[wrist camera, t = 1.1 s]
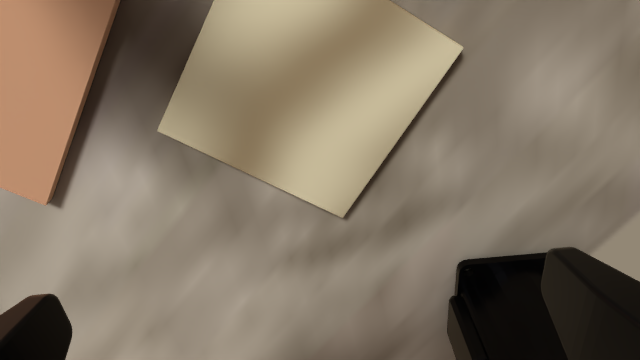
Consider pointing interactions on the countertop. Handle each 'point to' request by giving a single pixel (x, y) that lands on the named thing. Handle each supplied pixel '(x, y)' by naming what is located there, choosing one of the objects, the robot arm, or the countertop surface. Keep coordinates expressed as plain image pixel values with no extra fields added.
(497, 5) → the countertop surface
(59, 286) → the countertop surface
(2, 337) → the robot arm
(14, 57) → the mat
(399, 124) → the mat
